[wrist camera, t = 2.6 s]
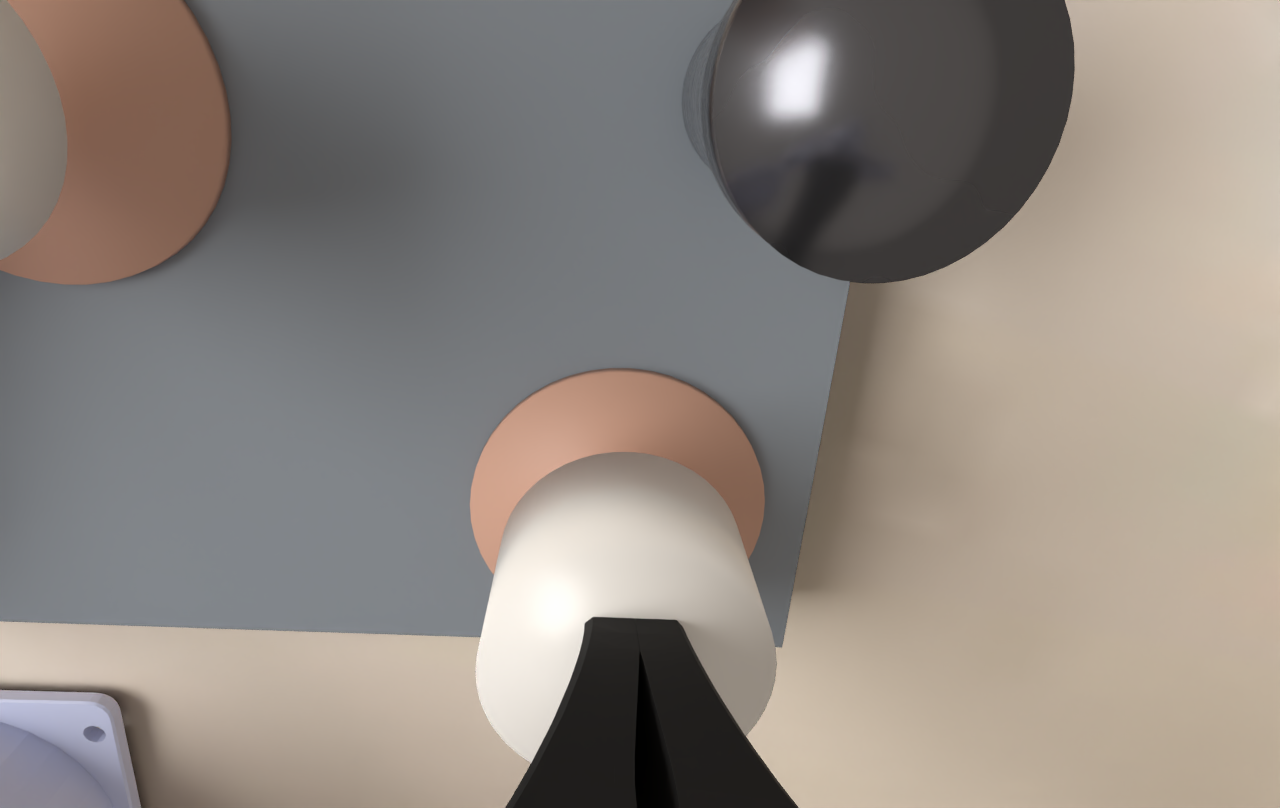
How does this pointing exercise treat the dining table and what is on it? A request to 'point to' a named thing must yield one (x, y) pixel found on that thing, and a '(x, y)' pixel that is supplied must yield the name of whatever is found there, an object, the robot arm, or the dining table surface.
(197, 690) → the dining table surface
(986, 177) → the pot post
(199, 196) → the mount board
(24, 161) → the knob
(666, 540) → the knob
